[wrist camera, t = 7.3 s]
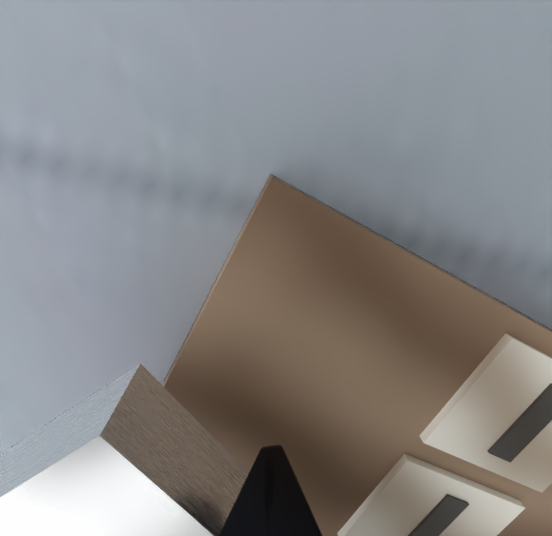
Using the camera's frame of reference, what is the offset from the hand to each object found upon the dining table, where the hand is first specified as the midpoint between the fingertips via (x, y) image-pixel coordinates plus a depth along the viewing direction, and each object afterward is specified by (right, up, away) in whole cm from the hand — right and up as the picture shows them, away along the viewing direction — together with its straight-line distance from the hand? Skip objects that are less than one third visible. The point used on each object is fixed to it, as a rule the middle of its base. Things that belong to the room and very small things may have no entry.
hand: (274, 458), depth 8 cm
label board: (+4, -4, +6) cm, 9 cm away
